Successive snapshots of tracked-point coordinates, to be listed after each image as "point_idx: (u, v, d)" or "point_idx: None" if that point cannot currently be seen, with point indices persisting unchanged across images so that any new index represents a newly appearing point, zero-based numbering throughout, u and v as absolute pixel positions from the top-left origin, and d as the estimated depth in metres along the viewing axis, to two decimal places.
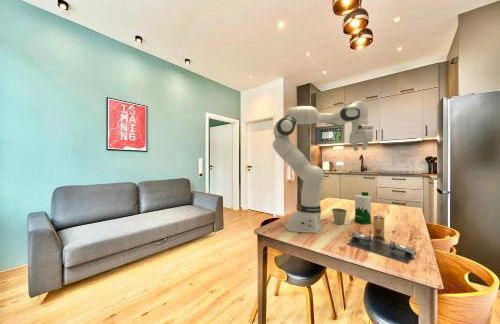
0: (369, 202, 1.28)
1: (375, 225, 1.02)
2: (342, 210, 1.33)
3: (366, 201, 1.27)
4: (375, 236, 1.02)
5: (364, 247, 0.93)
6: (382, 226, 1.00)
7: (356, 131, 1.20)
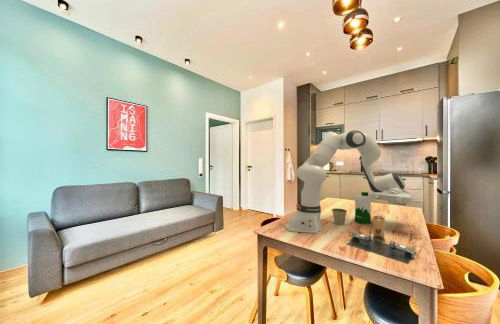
0: (369, 202, 1.28)
1: (375, 225, 1.02)
2: (342, 210, 1.33)
3: (366, 201, 1.27)
4: (375, 236, 1.02)
5: (364, 247, 0.93)
6: (382, 226, 1.00)
7: (395, 192, 1.17)
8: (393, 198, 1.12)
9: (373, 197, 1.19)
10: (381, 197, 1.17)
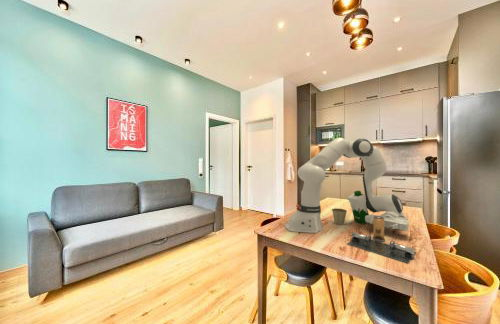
0: (364, 201, 1.26)
1: (375, 225, 1.02)
2: (342, 210, 1.33)
3: (360, 202, 1.25)
4: (375, 236, 1.02)
5: (364, 247, 0.93)
6: (382, 226, 1.00)
7: (390, 216, 1.12)
8: (388, 223, 1.08)
9: (368, 221, 1.15)
10: None
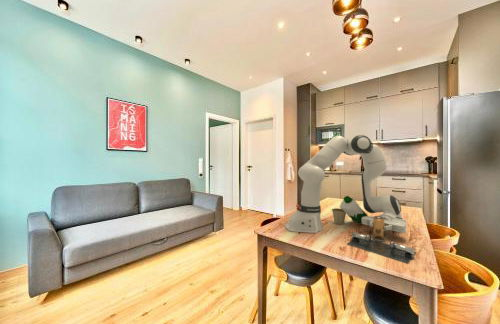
0: (356, 206, 1.23)
1: (375, 225, 1.02)
2: (342, 210, 1.33)
3: (354, 209, 1.22)
4: (375, 236, 1.02)
5: (364, 247, 0.93)
6: (382, 226, 1.00)
7: (388, 217, 1.08)
8: (385, 225, 1.04)
9: (364, 222, 1.11)
10: None
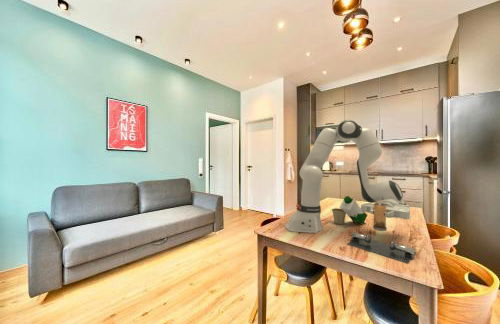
0: (356, 206, 1.22)
1: (376, 212, 0.92)
2: (342, 210, 1.33)
3: (354, 209, 1.21)
4: (376, 225, 0.92)
5: (364, 247, 0.93)
6: (383, 213, 0.90)
7: (390, 204, 0.98)
8: (387, 212, 0.94)
9: (364, 210, 1.01)
10: (373, 210, 0.98)
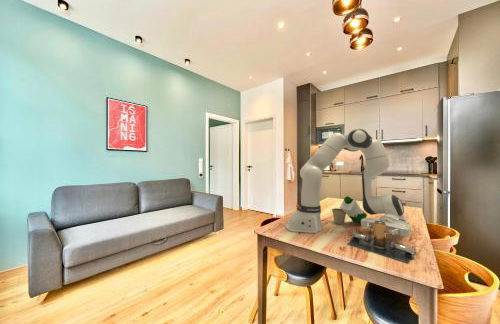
0: (357, 206, 1.22)
1: (376, 231, 0.92)
2: (342, 210, 1.33)
3: (354, 209, 1.21)
4: (376, 243, 0.92)
5: (364, 247, 0.93)
6: (383, 232, 0.90)
7: (390, 219, 0.98)
8: (387, 228, 0.94)
9: (364, 225, 1.01)
10: (373, 225, 0.98)
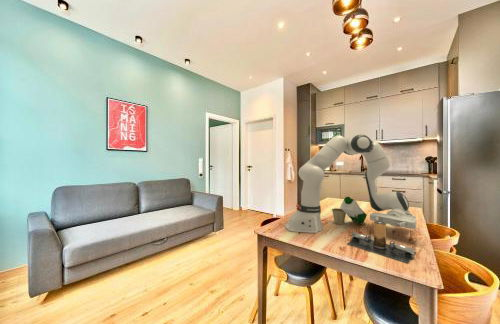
0: (357, 207, 1.22)
1: (376, 231, 0.92)
2: (342, 210, 1.33)
3: (355, 209, 1.21)
4: (376, 243, 0.92)
5: (364, 247, 0.93)
6: (384, 232, 0.90)
7: (397, 214, 1.07)
8: (395, 222, 1.02)
9: (373, 219, 1.09)
10: (382, 219, 1.07)
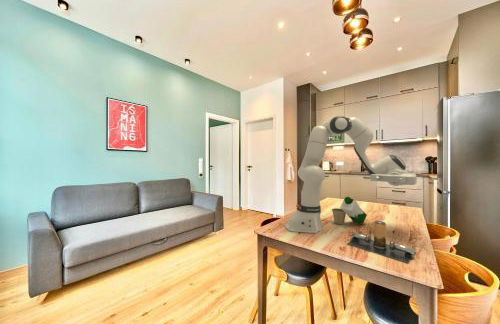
0: (357, 207, 1.22)
1: (376, 231, 0.92)
2: (342, 210, 1.33)
3: (355, 209, 1.21)
4: (376, 243, 0.92)
5: (364, 247, 0.93)
6: (384, 232, 0.90)
7: (397, 172, 1.06)
8: (395, 178, 1.02)
9: (373, 179, 1.09)
10: (382, 178, 1.07)
